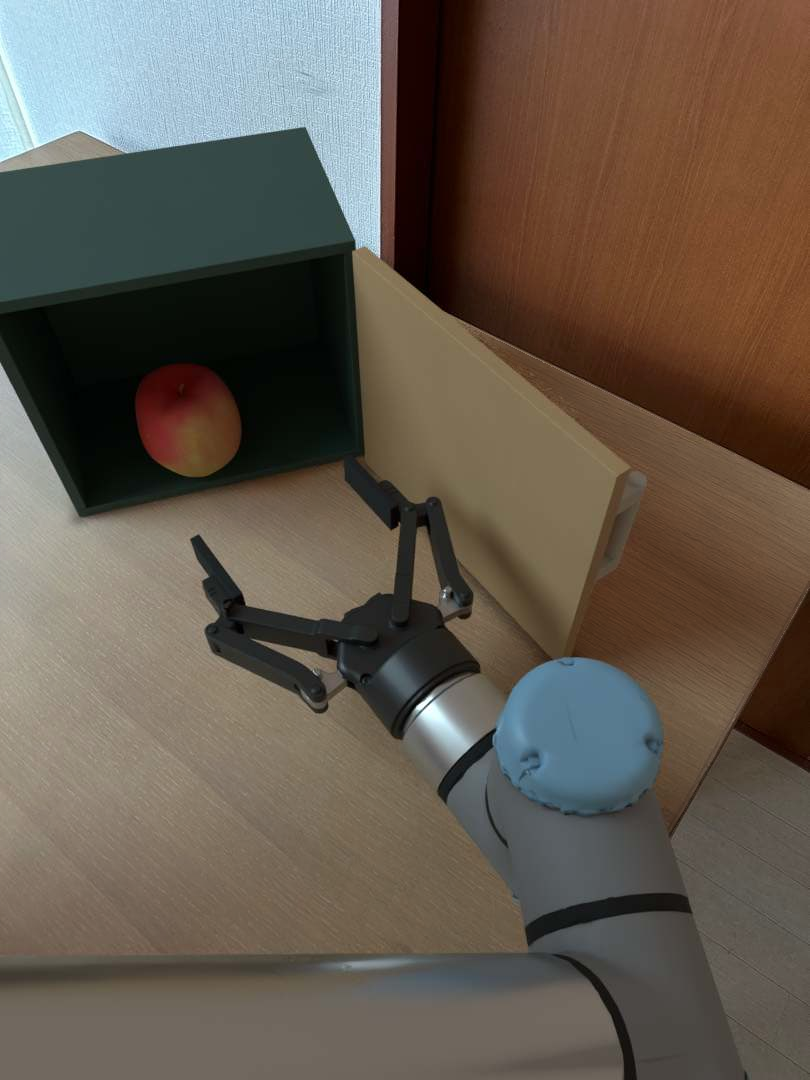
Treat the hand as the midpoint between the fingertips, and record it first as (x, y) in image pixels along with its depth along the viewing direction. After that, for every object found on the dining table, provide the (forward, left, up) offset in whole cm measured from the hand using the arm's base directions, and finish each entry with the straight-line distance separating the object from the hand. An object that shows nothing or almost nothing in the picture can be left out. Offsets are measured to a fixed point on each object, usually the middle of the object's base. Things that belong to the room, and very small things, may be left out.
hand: (275, 505), depth 65 cm
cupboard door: (+18, 0, -10) cm, 21 cm away
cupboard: (-4, +22, -11) cm, 24 cm away
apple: (-5, +16, -10) cm, 19 cm away
